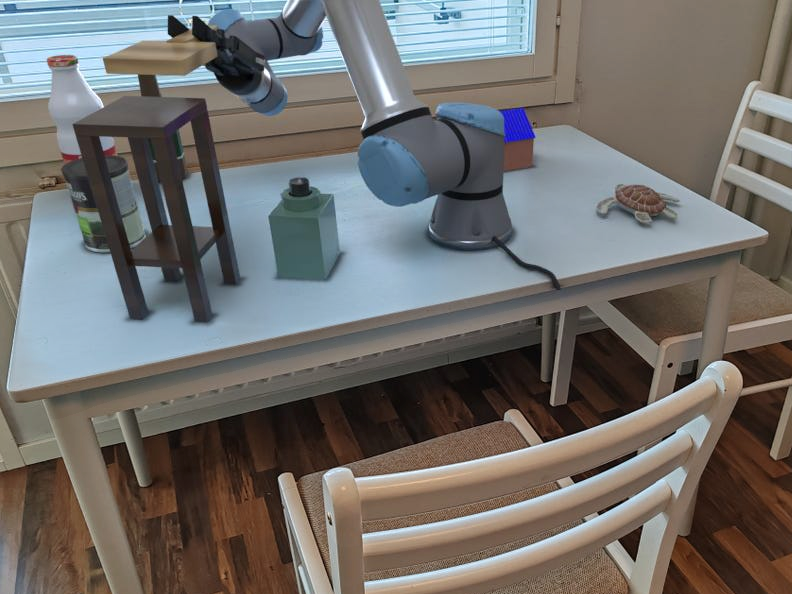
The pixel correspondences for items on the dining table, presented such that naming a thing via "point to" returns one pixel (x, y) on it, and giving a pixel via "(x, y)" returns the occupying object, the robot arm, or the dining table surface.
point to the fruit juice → (72, 105)
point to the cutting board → (162, 56)
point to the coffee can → (88, 209)
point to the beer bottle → (151, 89)
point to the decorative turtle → (639, 202)
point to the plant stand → (159, 196)
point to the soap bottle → (304, 235)
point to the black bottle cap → (299, 187)
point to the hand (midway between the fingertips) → (182, 25)
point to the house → (517, 140)
